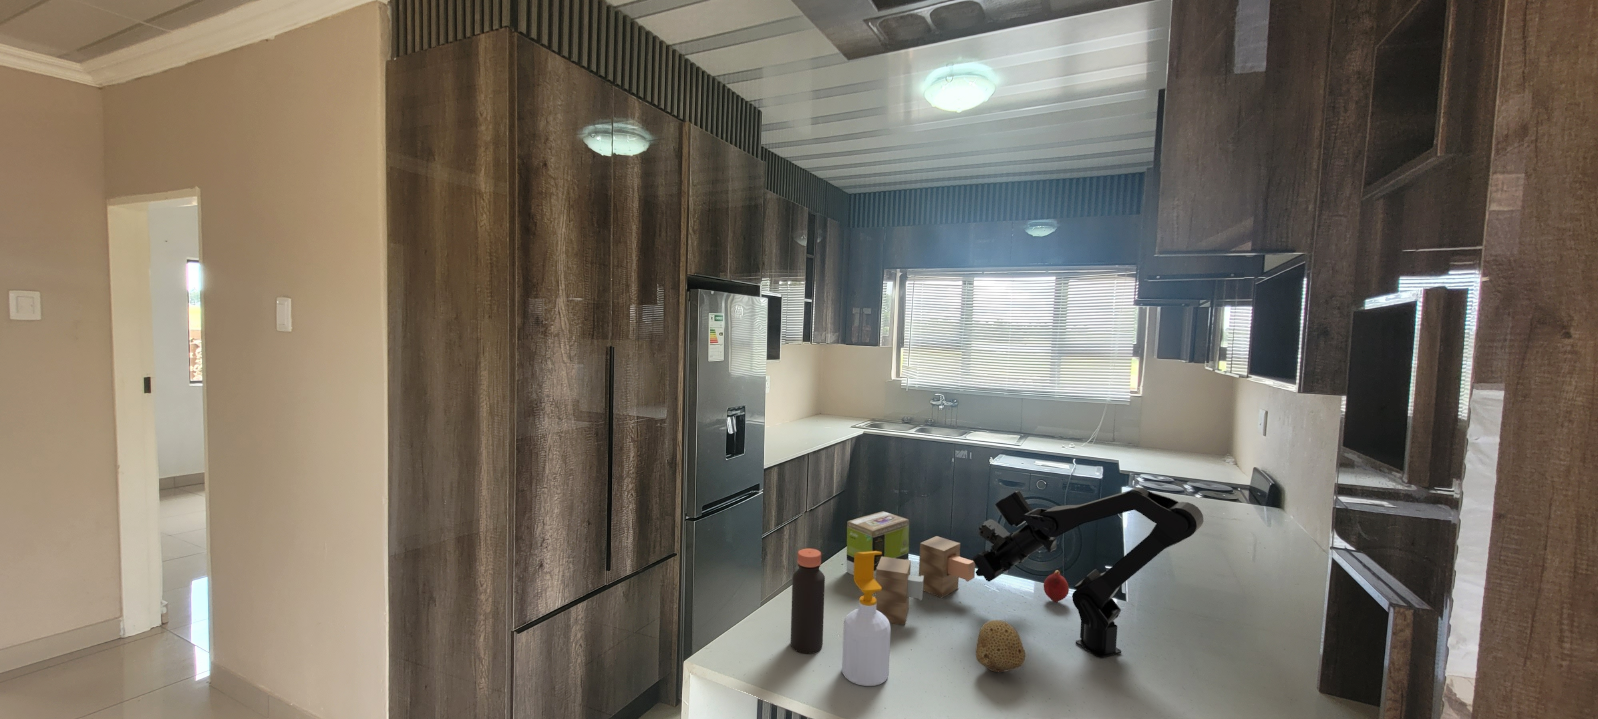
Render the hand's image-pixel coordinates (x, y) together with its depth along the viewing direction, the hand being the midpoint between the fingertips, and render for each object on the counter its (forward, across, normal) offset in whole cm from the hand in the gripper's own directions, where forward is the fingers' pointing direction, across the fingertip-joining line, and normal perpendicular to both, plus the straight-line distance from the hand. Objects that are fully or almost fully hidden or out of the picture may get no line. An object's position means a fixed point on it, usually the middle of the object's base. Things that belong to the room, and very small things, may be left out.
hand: (977, 573), depth 148 cm
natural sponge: (-8, +24, +18) cm, 31 cm away
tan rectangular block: (+5, 0, -2) cm, 6 cm away
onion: (-4, -15, +15) cm, 22 cm away
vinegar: (+16, +45, -5) cm, 48 cm away
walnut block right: (+13, 0, -2) cm, 13 cm away
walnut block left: (+13, +21, -2) cm, 24 cm away
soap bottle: (+5, +44, +5) cm, 45 cm away
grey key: (+7, +19, -4) cm, 21 cm away
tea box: (+25, +3, -14) cm, 29 cm away
